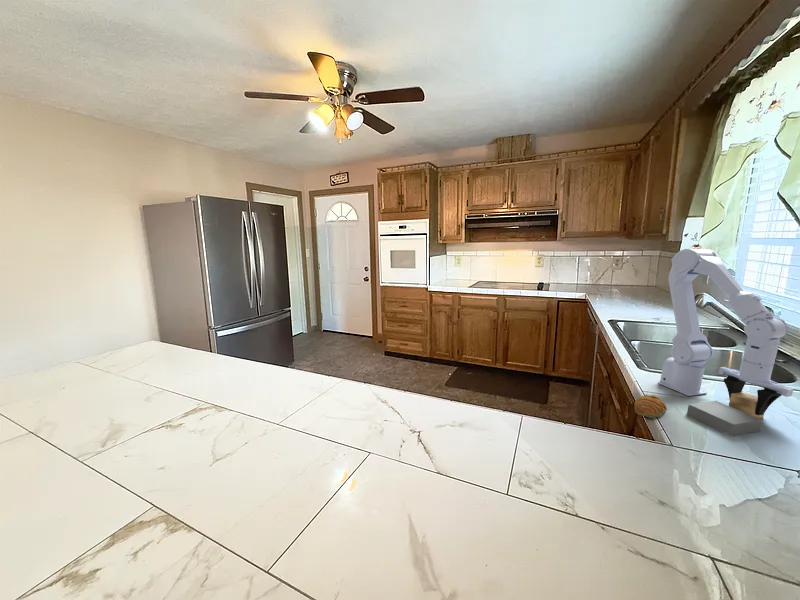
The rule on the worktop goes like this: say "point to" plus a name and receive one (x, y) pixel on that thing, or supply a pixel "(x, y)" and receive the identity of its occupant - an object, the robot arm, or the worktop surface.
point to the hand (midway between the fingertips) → (746, 409)
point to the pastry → (650, 406)
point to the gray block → (724, 418)
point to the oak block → (744, 403)
